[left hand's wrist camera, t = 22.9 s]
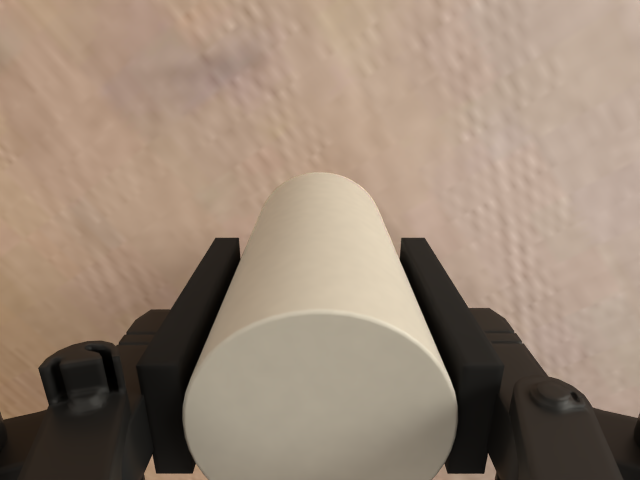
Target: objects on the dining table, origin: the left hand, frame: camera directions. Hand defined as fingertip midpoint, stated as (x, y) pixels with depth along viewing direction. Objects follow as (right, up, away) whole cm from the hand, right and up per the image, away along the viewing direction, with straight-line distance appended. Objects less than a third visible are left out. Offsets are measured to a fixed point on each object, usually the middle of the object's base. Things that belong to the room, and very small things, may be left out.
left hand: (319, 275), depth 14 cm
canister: (0, +1, +4) cm, 4 cm away
